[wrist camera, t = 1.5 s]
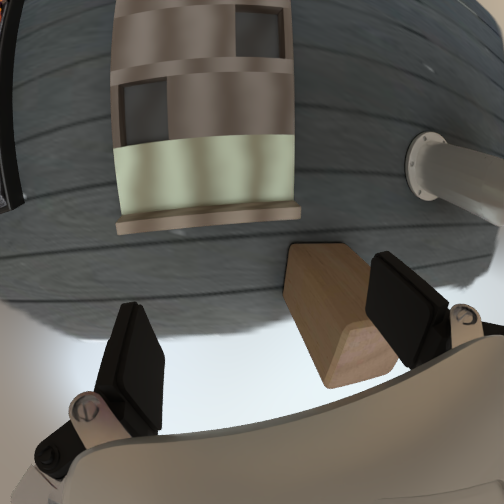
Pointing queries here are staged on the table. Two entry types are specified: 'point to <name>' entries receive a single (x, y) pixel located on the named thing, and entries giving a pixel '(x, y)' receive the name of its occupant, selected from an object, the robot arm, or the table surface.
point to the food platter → (8, 107)
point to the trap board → (202, 113)
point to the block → (335, 313)
